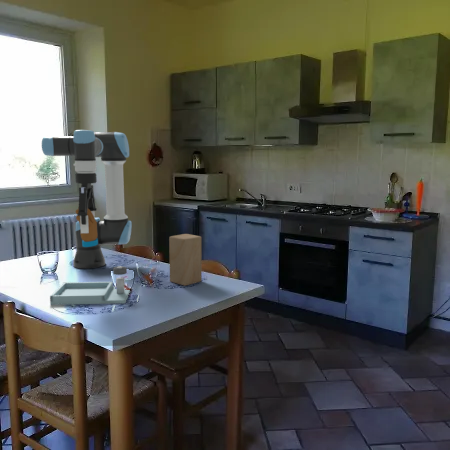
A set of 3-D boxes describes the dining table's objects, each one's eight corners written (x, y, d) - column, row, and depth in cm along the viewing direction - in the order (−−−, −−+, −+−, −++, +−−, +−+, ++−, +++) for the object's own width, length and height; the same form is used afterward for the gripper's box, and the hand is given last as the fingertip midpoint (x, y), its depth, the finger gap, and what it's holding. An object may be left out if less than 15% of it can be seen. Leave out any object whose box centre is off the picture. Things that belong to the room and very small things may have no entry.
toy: (88, 240, 179) (86, 203, 177) (104, 241, 178) (103, 203, 175) (72, 247, 167) (70, 206, 165) (90, 247, 166) (88, 207, 164)
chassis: (64, 290, 183) (63, 273, 182) (131, 289, 185) (131, 272, 184) (50, 304, 165) (49, 286, 164) (125, 303, 167) (124, 285, 166)
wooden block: (169, 281, 196) (168, 236, 193) (186, 277, 204) (186, 233, 201) (184, 286, 190) (184, 239, 187) (202, 281, 197) (201, 236, 194)
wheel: (114, 271, 177) (114, 265, 177) (127, 271, 177) (127, 265, 177) (112, 274, 172) (112, 268, 172) (125, 274, 172) (125, 268, 172)
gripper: (82, 171, 179) (84, 225, 183) (67, 174, 156) (70, 236, 159) (101, 171, 180) (103, 225, 184) (89, 174, 157) (92, 235, 160)
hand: (88, 230), depth 171 cm, fingers closed on toy, 11 cm apart
